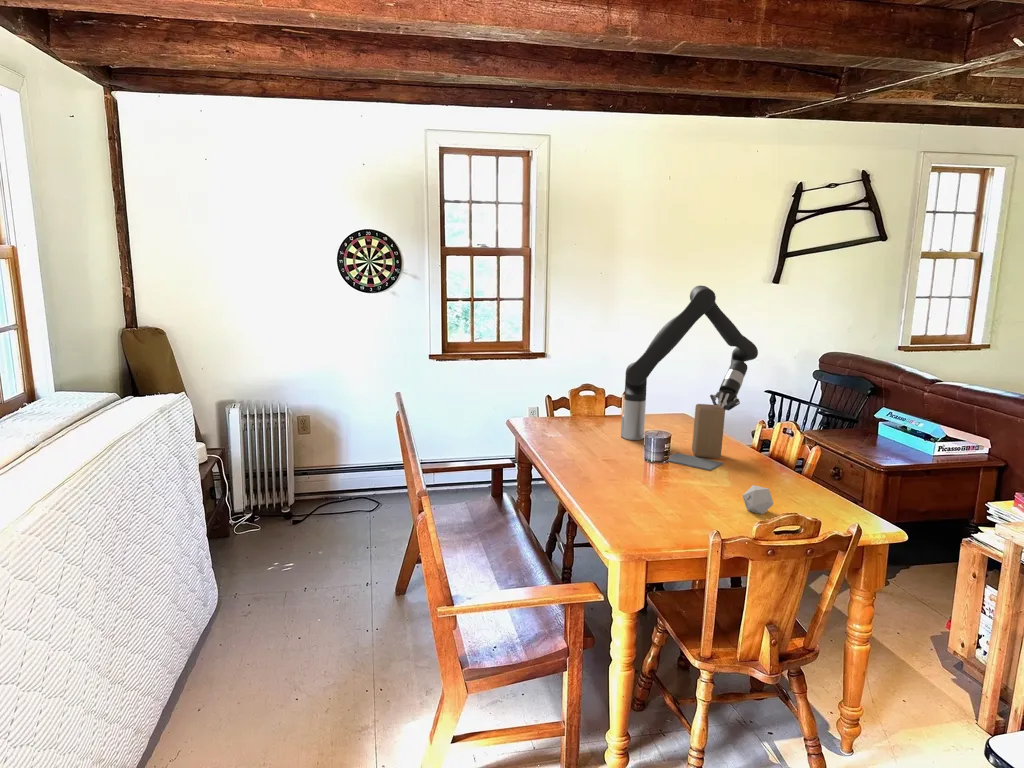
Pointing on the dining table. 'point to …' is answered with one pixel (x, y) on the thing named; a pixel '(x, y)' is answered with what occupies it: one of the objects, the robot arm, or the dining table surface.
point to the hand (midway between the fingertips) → (717, 416)
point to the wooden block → (708, 430)
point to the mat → (694, 461)
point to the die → (758, 499)
